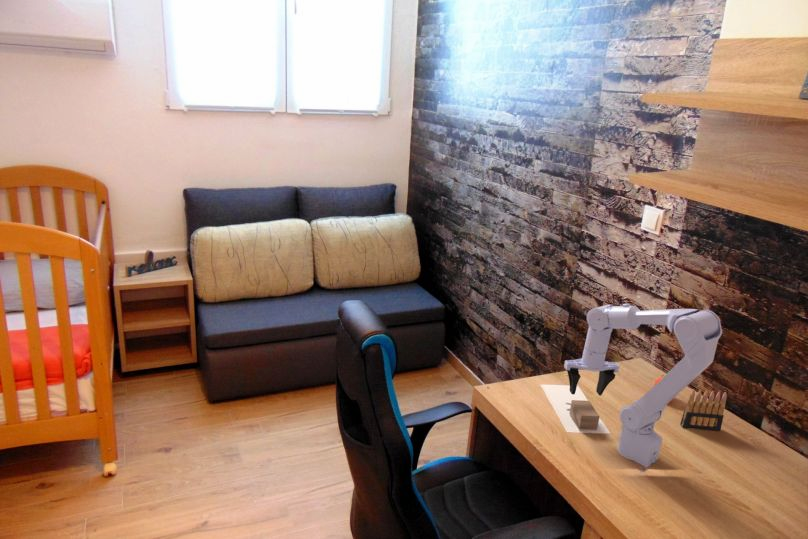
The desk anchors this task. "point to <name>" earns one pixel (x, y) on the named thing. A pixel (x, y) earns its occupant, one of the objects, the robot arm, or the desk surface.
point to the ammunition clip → (704, 412)
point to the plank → (568, 406)
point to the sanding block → (584, 415)
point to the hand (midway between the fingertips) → (585, 393)
